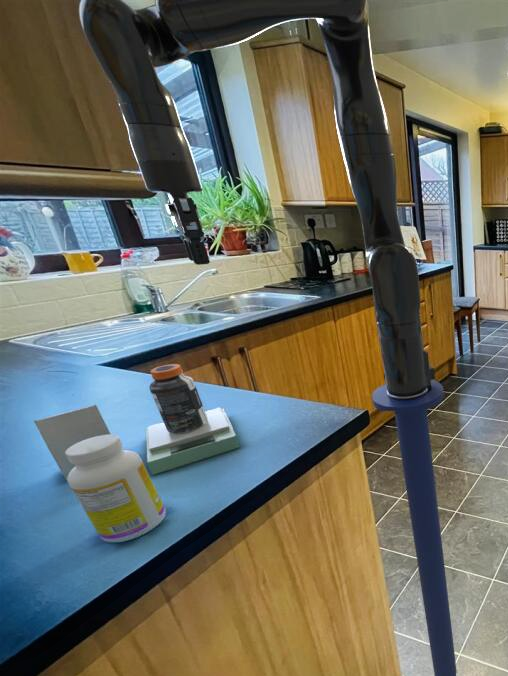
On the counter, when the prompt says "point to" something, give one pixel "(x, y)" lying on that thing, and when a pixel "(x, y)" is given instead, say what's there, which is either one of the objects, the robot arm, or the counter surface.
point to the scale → (189, 442)
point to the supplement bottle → (114, 488)
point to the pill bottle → (177, 399)
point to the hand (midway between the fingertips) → (199, 262)
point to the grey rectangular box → (70, 432)
